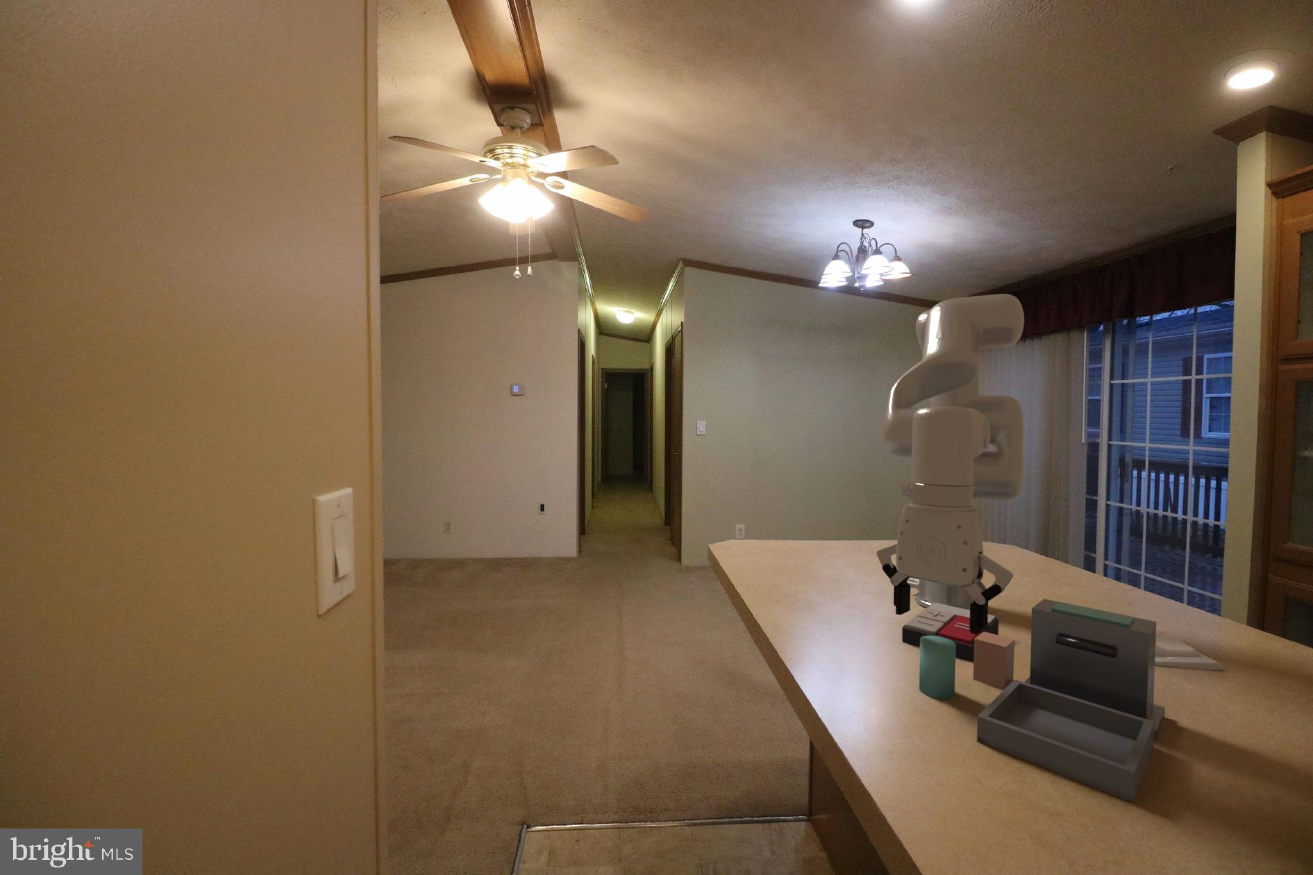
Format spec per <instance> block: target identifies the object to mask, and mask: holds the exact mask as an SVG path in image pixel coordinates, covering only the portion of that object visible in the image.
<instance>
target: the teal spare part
mask: <svg viewBox="0 0 1313 875" xmlns="http://www.w3.org/2000/svg"><path fill="white" fill-rule="evenodd" d="M956 658H957V657H956V644H955V643H954V642H953V641H951V640H949V639H946V638H943V637H938V636H923V637H921V638H920V647H919V677H918V678H919V679H918V690H919V691H920V692H921V693H922V694H923V695H924V696H927V697H928V698H932V699H934V700H935V699H936V700H942V701H949V700H952V699H954V698H955V694H956V693H955V692H956Z"/></svg>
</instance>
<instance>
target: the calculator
mask: <svg viewBox="0 0 1313 875" xmlns="http://www.w3.org/2000/svg"><path fill="white" fill-rule="evenodd" d="M999 620H1000V619H999V617H996V616H995V615H993V614H989V613H988V624H987V627H986V628H984V629H983V630H982V631H981V632H979V633H978V634H976V635H975V634H972V633H971V632H970V610H966V609H962V608H957V607H953V606H948V605H944V604H940V603H933V604H931V605H930V606H929V607H928V608H926V607H925V608H924V609H923V610H922V611H921V612H919V613H918V614H917V615H916V616H914V617H913V618H911V620H909V621H907V623H906V624H904V625H903V626H902V628H901V642H902V643H904V644H907V645H912V646H915V647H917V648H918V647H919V648H920V638H921V637H923V636H938V637H943V638H946V639H949V640H951V641H953V642H954V643H955V644H956V658H957V659H961V660H964V661H968V662H974V638H976V637H977V636H979V635H980V634H981V633H983V632H987V633H991V634H995V635H999V631H1000V630H999Z"/></svg>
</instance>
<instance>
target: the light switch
mask: <svg viewBox="0 0 1313 875" xmlns="http://www.w3.org/2000/svg"><path fill="white" fill-rule="evenodd" d="M1155 665H1157V666H1156V667H1165V666H1166V667H1165V668H1167V667H1168V668H1178V667H1179V669H1193V670H1203V669H1208V670H1209V671H1211V670H1213V671H1216V670H1217V671H1224V665H1223V664H1222V663H1220V662H1218V661H1216V660H1215V659H1212V658H1210V657H1209V656H1206V655H1205V654H1203V653H1201V652H1200V651H1199V650H1196V649H1194V648H1193V647H1192V646H1189V645H1188V644H1185V643H1184V642H1181V641H1180V640H1178V639H1175V638H1174V637H1171V636H1169V635H1156V647H1155Z"/></svg>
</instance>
